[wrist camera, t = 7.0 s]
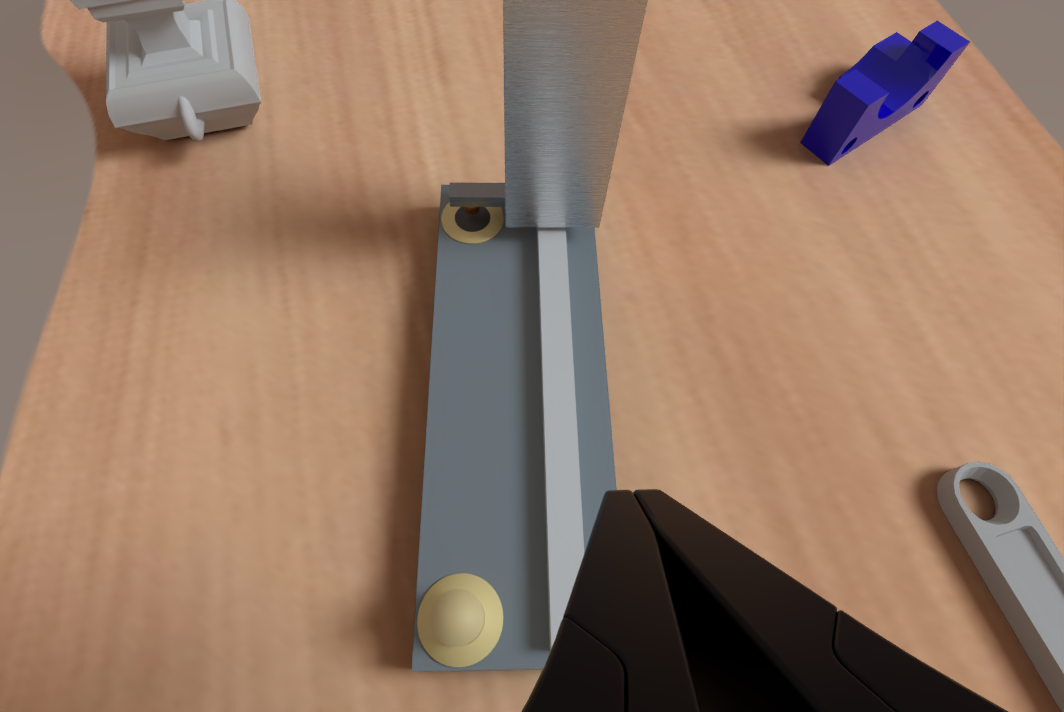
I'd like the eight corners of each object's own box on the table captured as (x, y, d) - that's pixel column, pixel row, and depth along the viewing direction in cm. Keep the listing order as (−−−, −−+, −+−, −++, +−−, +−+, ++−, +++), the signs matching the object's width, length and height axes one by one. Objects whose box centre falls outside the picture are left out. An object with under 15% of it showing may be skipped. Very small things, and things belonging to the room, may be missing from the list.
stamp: (283, 157, 30) (205, -9, 22) (145, 184, 29) (13, 20, 21) (263, 43, 33) (190, -132, 26) (140, 64, 32) (26, -112, 25)
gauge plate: (623, 664, 20) (641, 668, 17) (418, 670, 20) (402, 674, 17) (587, 207, 29) (595, 160, 26) (444, 206, 29) (437, 159, 26)
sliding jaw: (597, 236, 26) (666, -86, 14) (450, 235, 25) (401, -93, 14) (592, 183, 27) (652, -150, 16) (453, 182, 27) (410, -157, 15)
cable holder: (871, 72, 34) (913, 5, 31) (920, 107, 33) (970, 41, 29) (778, 128, 32) (811, 63, 28) (827, 168, 31) (868, 105, 27)
